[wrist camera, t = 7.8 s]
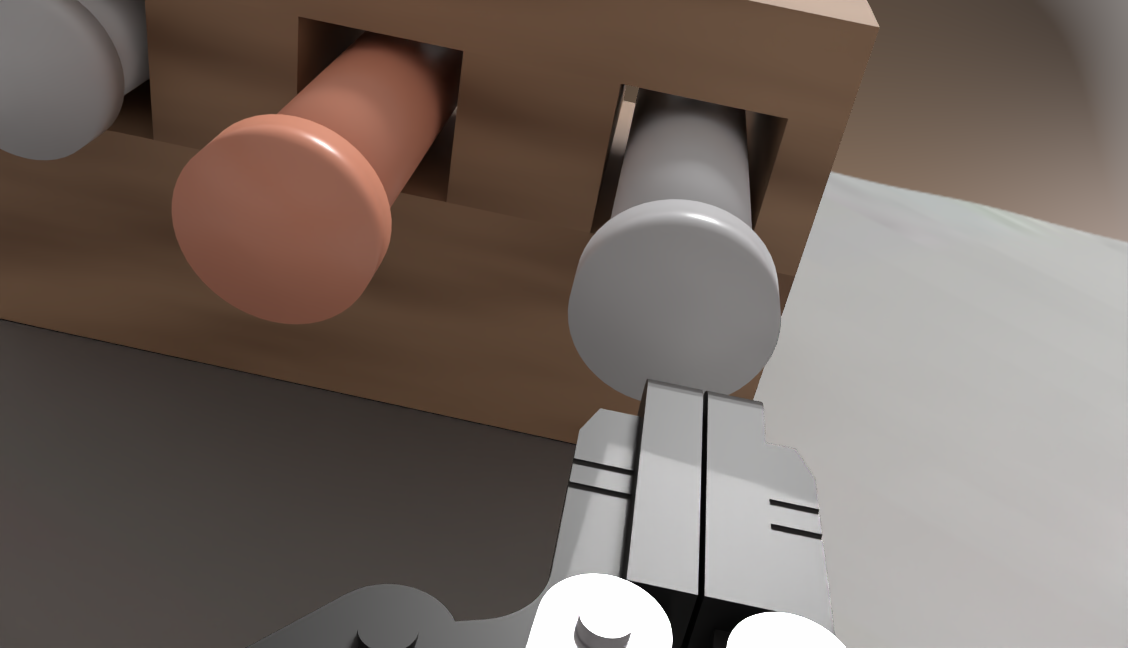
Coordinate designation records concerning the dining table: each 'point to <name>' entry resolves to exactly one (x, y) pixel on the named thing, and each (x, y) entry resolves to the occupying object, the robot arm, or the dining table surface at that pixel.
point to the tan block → (431, 186)
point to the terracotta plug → (315, 181)
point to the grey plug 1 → (66, 71)
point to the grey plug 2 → (678, 258)
